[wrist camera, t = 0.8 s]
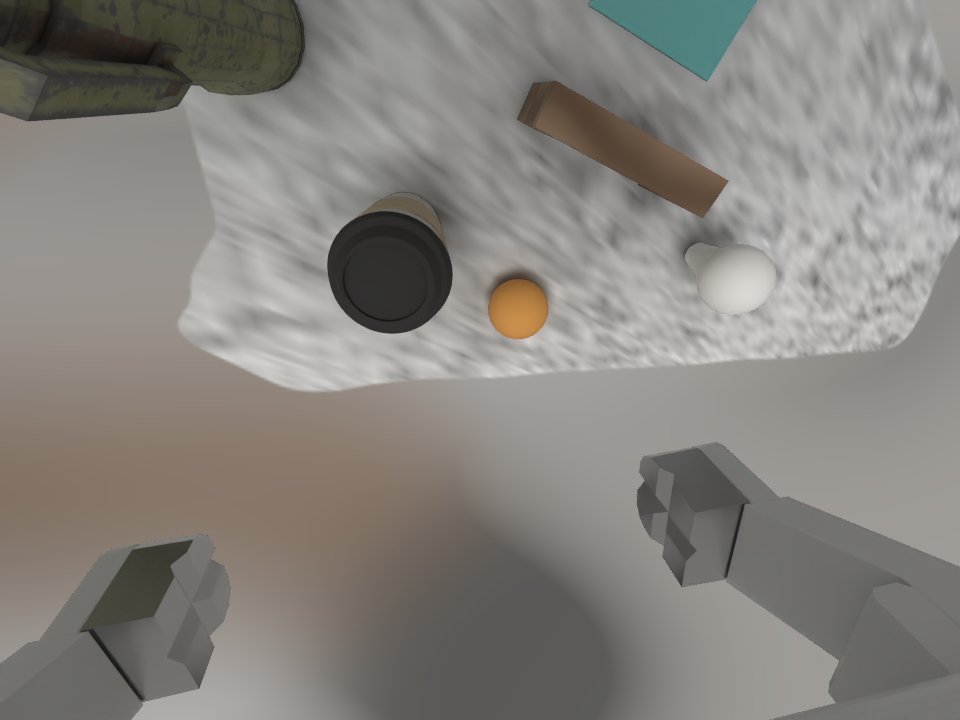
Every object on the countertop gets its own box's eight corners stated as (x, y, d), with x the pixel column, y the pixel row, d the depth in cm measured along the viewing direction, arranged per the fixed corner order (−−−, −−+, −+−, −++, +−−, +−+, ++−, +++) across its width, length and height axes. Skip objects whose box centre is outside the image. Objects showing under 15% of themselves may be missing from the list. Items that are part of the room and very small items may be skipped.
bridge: (533, 83, 39) (556, 81, 30) (673, 163, 42) (728, 180, 34) (516, 119, 40) (534, 126, 32) (654, 193, 44) (702, 218, 35)
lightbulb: (735, 241, 47) (808, 280, 37) (693, 290, 49) (751, 337, 40) (693, 210, 45) (758, 242, 35) (651, 263, 47) (702, 306, 38)
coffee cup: (458, 189, 43) (462, 232, 30) (444, 280, 47) (442, 352, 34) (360, 171, 41) (319, 208, 28) (355, 266, 46) (318, 335, 33)
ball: (501, 261, 46) (508, 282, 41) (552, 283, 48) (565, 307, 43) (477, 310, 49) (480, 336, 44) (525, 330, 50) (534, 358, 45)
